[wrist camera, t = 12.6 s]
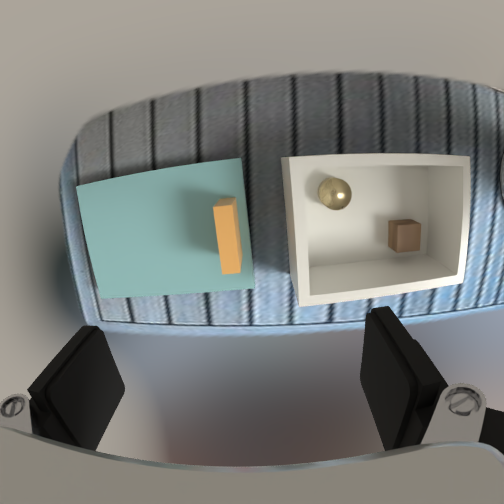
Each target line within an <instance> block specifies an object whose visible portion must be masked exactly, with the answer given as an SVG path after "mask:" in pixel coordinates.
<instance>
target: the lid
mask: <svg viewBox="0 0 504 504" xmlns="http://www.w3.org/2000/svg"><path fill="white" fill-rule="evenodd" d="M76 189H77V195H78V201H79V207H80V212H81V218H82V223H83V228H84V233H85V237H86V242H87V246H88V251H89V255H90V259H91V263H92V267H93V271H94V275H95V279H96V282H97V286H98V289H99V293H100V296H101V299H102V298H123V297H142V296H159V295H174V294H189V293H202V292H215V291H228V290H240V289H251V288H255V278H254V269H253V260H252V251H251V241H250V232H249V223H248V214H247V205H246V195H245V186H244V177H243V168H242V158H236V159H227V160H219V161H211V162H204V163H196V164H190V165H183V166H176V167H170V168H164V169H158V170H153V171H147V172H141V173H136V174H131V175H126V176H121V177H116V178H111V179H106V180H102V181H97V182H93V183H89V184H84V185H80V186H76Z"/></svg>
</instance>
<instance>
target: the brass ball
mask: <svg viewBox="0 0 504 504" xmlns="http://www.w3.org/2000/svg"><path fill="white" fill-rule="evenodd" d="M317 194H318V198H319V200H320V202H321V203H322V204H323V205H325V206H326V207H328V208H329V209H331V210H341V209H344V208H345V207H346V206H347V205H348V204H349V203H350V201H351V197H352V191H351V188H350V186H349V185H348V183H347V182H345V181H344V180H342V179H339V178H335V177H330V178H326V179H324V180H323V181H322V182H321V183H320V185H319V187H318V191H317Z"/></svg>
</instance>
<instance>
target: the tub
mask: <svg viewBox="0 0 504 504" xmlns="http://www.w3.org/2000/svg"><path fill="white" fill-rule="evenodd" d="M281 166H282V176H283V188H284V199H285V211H286V224H287V237H288V251H289V266H290V276H291V279H292V283H293V286H294V290H295V294H296V297H297V301H298V305H299V307H303V306H312V305H320V304H329V303H337V302H345V301H353V300H360V299H367V298H374V297H381V296H388V295H395V294H401V293H407V292H413V291H419V290H425V289H431V288H437V287H442V286H448V285H453V284H458V283H463V278H464V271H465V263H466V255H467V245H468V234H469V219H470V189H471V177H470V156H458V155H443V154H420V153H354V154H326V155H308V156H292V157H281ZM330 177H335V178H339V179H342V180H344V181H345V182H347V183H348V185H349V186H350V188H351V191H352V197H351V201H350V203H349V204H348V205H347V206H346V207H345V208H344V209H341V210H331V209H329V208H328V207H326V206H325V205H323V204H322V203H321V202H320V200H319V198H318V194H317V191H318V187H319V185H320V183H321V182H322V181H323V180H324V179H326V178H330ZM403 219H412V220H414V221H416V222H419V223H421V241H420V250H419V251H410V252H401V253H396V252H395V251H394V250H392V249H391V248H390V247H388V221H390V220H403Z"/></svg>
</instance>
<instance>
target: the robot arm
mask: <svg viewBox="0 0 504 504" xmlns="http://www.w3.org/2000/svg"><path fill="white" fill-rule="evenodd" d="M500 183H501V191H502V196H503V199H504V154H503V158H502V162H501V169H500ZM360 381H361V385H362V388H363V390H364V393H365V395H366V398H367V401H368V404H369V406H370V409H371V412H372V415H373V418H374V420H375V423H376V426H377V429H378V432H379V435H380V438H381V440H382V443H383V446H384V449H385V451H383V452H377V453H372V454H368V455H362V456H357V457H350V458H344V459H337V460H330V461H322V462H314V463H304V464H295V465H280V466H260V467H215V466H195V465H194V466H193V465H181V464H171V463H162V462H154V461H146V460H139V459H133V458H127V457H121V456H116V455H110V454H106V453H101V452H97V451H96V449H97V446H98V444H99V442H100V440H101V438H102V436H103V434H104V432H105V430H106V428H107V426H108V424H109V422H110V420H111V418H112V416H113V414H114V412H115V410H116V408H117V406H118V404H119V402H120V400H121V398H122V396H123V395H124V392H125V386H124V383H123V381H122V378H121V376H120V374H119V371H118V369H117V366H116V364H115V361H114V359H113V356H112V354H111V351H110V348H109V346H108V343H107V341H106V338H105V335H104V332H103V331H102V330H100V328H99V327H97V326H83V327H81V329H80V330H79V331H78V332H77V333H76V334H75V335H74V336H73V337H72V338H71V339H70V341H69V342H68V343H67V344H66V345H65V346H64V347H63V348H62V350H61V351H60V352H59V353H58V354H57V355H56V356H55V357H54V359H53V360H52V361H51V362H50V363H49V364H48V366H47V367H46V368H45V369H44V370H43V372H42V373H41V374H40V375H39V376H38V377H37V379H36V380H35V381H34V382H33V383H32V385H31V386H30V387H29V388H28V389H27V390H28V392H29V393H30V395H31V397H32V398H31V399H30V400H29V399H28V397H27V396H26V395H23V394H14V395H11V396H8V397H7V398H5V399H4V400H3V401H2V402H1V403H0V504H504V412H502V411H498V410H494V409H490V408H487V407H486V398H485V396H484V394H483V393H482V392H481V391H480V389H478V388H477V387H475V386H473V385H470V384H464V383H459V384H453V385H451V386H448V384H447V383H446V381H445V380H444V378H443V377H442V376H441V374H440V372H439V371H438V370H437V368H436V367H435V366H434V364H433V362H432V361H431V359H430V358H429V357H428V355H427V354H426V352H425V351H424V350H423V348H422V347H421V345H420V344H419V343H418V342H417V341H416V340H414V339H412V337H411V336H410V334H409V333H408V332H407V330H406V329H405V327H404V326H403V325H402V323H401V322H400V321H399V319H398V318H397V316H396V315H395V314H394V312H393V311H392V310H391V308H390V307H389V306H385V307H378V308H373V309H372V310H371V313H367V315H366V322H365V334H364V345H363V354H362V363H361V371H360Z"/></svg>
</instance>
